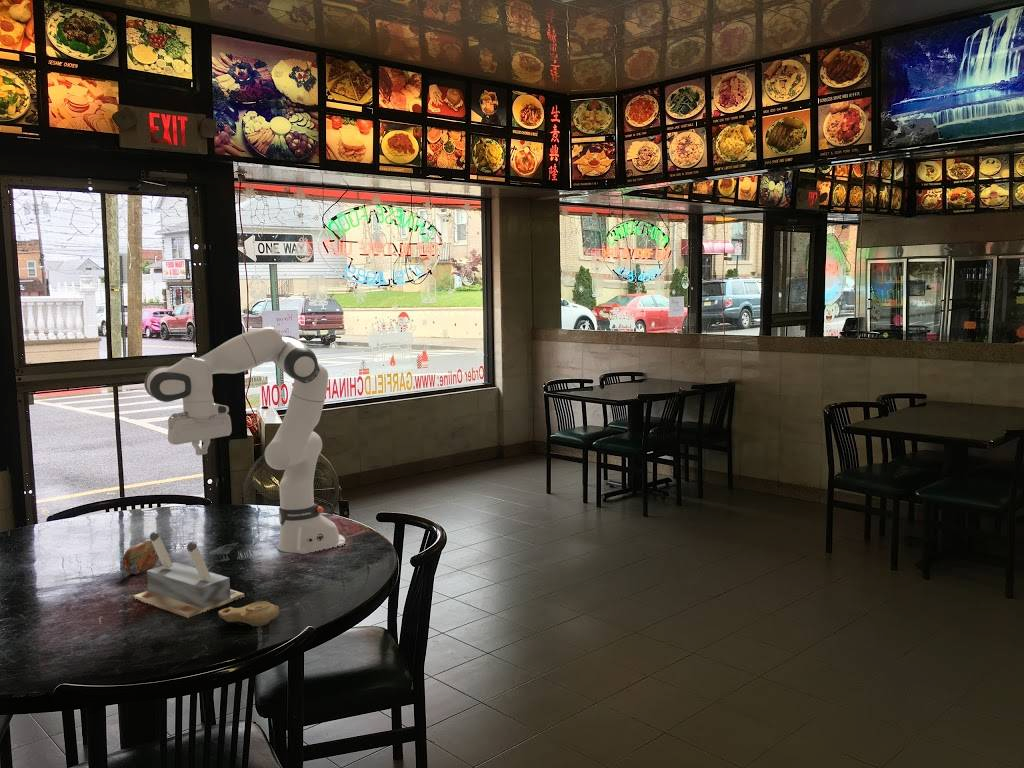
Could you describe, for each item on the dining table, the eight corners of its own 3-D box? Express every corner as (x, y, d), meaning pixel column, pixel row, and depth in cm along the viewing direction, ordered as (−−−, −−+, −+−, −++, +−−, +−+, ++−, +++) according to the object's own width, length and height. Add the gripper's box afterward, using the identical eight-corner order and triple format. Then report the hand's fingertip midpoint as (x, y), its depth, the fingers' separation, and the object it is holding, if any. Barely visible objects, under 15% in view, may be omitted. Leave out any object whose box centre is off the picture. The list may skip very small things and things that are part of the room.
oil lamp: (217, 623, 218) (216, 605, 218) (271, 611, 226) (270, 593, 225) (227, 637, 209) (226, 618, 209) (283, 624, 217) (282, 605, 216)
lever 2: (206, 573, 232) (190, 539, 228) (212, 575, 231) (197, 541, 226) (198, 579, 231) (183, 544, 226) (205, 581, 229) (189, 546, 224)
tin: (131, 578, 255) (129, 551, 254) (122, 577, 255) (120, 551, 254) (161, 562, 269) (159, 536, 268) (152, 561, 270) (150, 536, 269)
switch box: (190, 579, 252) (188, 557, 251) (244, 596, 237) (242, 573, 236) (133, 598, 237) (132, 575, 236) (187, 617, 222) (186, 592, 221)
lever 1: (168, 562, 243) (153, 529, 238) (174, 564, 241) (159, 530, 237) (161, 567, 241) (146, 534, 236) (167, 569, 239) (151, 536, 235)
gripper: (174, 415, 243) (177, 461, 245) (233, 406, 260) (235, 449, 261) (161, 413, 247) (164, 459, 248) (220, 405, 264) (223, 448, 265)
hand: (201, 454), depth 255 cm, fingers closed
